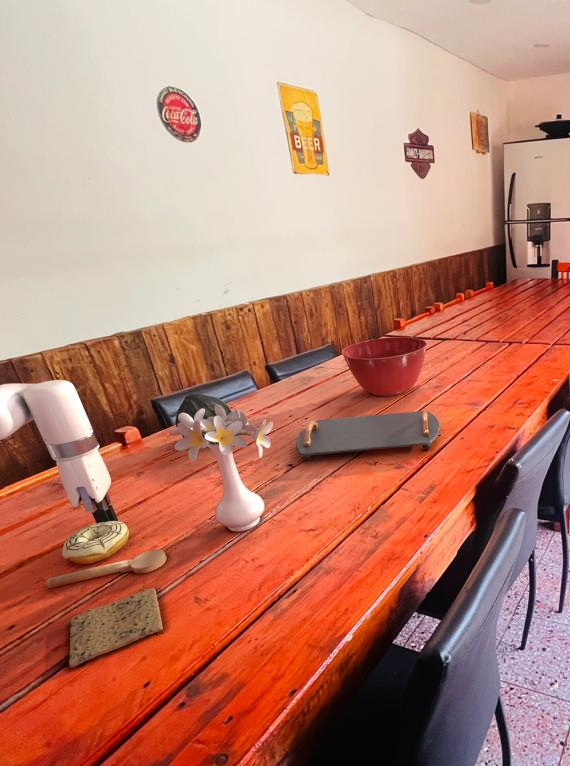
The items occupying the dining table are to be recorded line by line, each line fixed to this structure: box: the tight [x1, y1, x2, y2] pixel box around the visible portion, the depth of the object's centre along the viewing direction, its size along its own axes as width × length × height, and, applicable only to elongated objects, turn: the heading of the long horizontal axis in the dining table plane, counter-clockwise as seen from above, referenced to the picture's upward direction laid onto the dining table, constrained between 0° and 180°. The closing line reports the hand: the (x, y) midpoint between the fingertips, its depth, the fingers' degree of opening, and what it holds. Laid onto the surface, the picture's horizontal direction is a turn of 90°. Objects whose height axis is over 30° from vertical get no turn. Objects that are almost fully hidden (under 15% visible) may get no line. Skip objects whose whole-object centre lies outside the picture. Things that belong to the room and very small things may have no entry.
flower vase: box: [169, 404, 274, 532], centre depth 101 cm, size 13×18×25 cm
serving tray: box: [295, 410, 441, 462], centre depth 139 cm, size 39×23×6 cm, turn 96°
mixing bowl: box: [341, 336, 428, 397], centre depth 174 cm, size 28×28×15 cm
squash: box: [175, 393, 233, 442], centre depth 144 cm, size 14×15×15 cm
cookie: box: [68, 587, 163, 669], centre depth 81 cm, size 12×12×1 cm
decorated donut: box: [61, 521, 130, 565], centre depth 99 cm, size 10×11×4 cm
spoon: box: [45, 548, 167, 589], centre depth 93 cm, size 19×6×2 cm, turn 111°
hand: (108, 524), depth 106 cm, fingers closed
